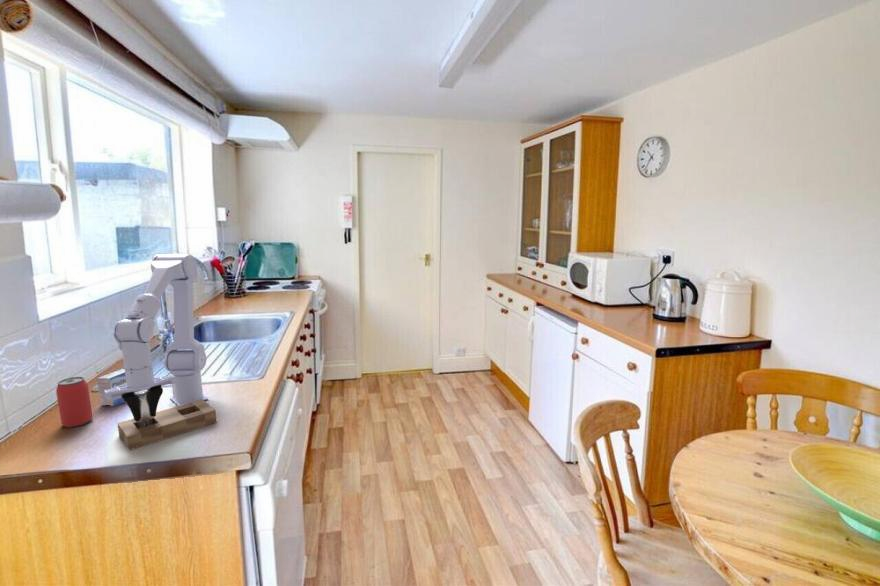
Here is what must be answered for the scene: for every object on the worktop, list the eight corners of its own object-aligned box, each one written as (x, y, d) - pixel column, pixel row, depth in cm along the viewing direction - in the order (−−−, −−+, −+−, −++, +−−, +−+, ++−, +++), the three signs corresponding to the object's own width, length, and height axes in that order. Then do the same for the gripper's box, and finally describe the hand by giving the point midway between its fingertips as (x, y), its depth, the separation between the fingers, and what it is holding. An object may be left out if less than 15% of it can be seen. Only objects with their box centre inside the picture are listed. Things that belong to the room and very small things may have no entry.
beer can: (86, 415, 126) (80, 374, 123) (97, 420, 122) (91, 378, 120) (57, 424, 120) (50, 382, 118) (68, 430, 117) (61, 387, 115)
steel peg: (138, 430, 114) (133, 393, 112) (151, 426, 116) (147, 389, 114) (141, 434, 112) (136, 396, 110) (155, 430, 114) (150, 392, 112)
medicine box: (113, 406, 131) (109, 378, 129) (100, 405, 132) (96, 377, 130) (136, 396, 138) (132, 369, 137) (124, 394, 139) (120, 368, 138)
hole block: (119, 436, 114) (117, 423, 113) (203, 410, 128) (201, 399, 127) (129, 450, 107) (127, 436, 106) (216, 422, 121) (215, 410, 121)
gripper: (106, 378, 103) (113, 433, 105) (176, 362, 113) (181, 413, 116) (99, 370, 108) (107, 423, 110) (167, 356, 118) (173, 405, 120)
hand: (145, 417), depth 113 cm, fingers closed on steel peg, 3 cm apart
